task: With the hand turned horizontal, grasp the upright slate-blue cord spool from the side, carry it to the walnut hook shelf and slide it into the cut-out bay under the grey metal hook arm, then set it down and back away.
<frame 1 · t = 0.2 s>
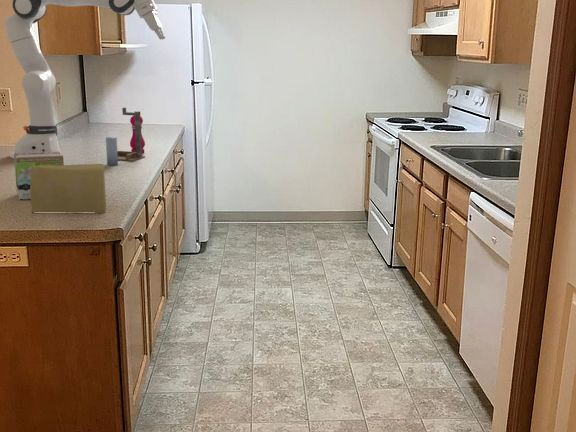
hand: (162, 39, 280), 54 cm above the countertop, tool tilted 30°, fingers open, 8 cm apart
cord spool: (112, 164, 270), on the countertop
tea box: (41, 196, 214), on the countertop
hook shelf: (122, 158, 285), on the countertop
pepper mill: (137, 153, 300), on the countertop
olive green box: (69, 212, 194), on the countertop
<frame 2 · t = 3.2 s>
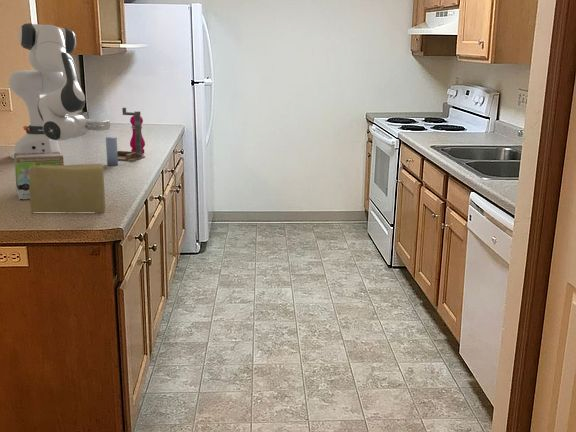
hand: (95, 122, 254), 20 cm above the countertop, tool horizontal, fingers open, 8 cm apart
nothing on the countertop moved.
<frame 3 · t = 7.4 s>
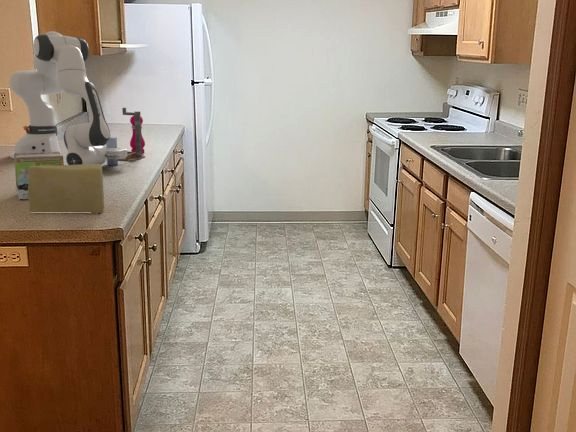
hand: (112, 149, 269), 7 cm above the countertop, tool horizontal, fingers closed on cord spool, 5 cm apart
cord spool: (112, 164, 270), on the countertop, touching gripper
everything else where it was.
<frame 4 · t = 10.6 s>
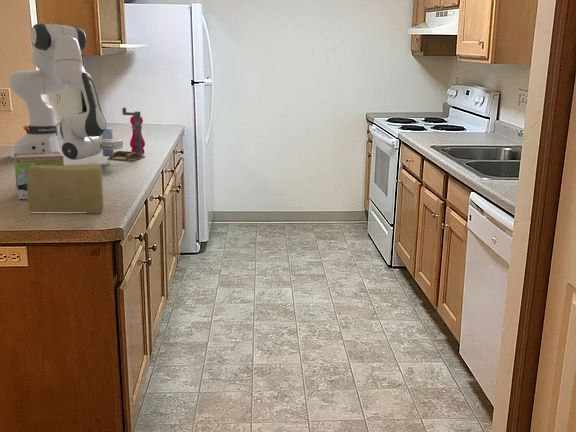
hand: (108, 140, 272), 10 cm above the countertop, tool horizontal, fingers closed on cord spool, 5 cm apart
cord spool: (108, 155, 273), point 3 cm above the countertop, touching gripper
everything else where it was.
when the fingers open (8 cm above the countertop, at t = 13.5 s): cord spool drops 1 cm, resting on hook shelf.
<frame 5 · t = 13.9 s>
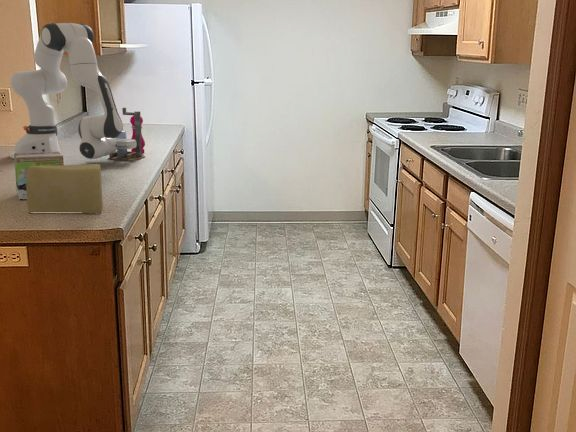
hand: (122, 140, 283), 8 cm above the countertop, tool horizontal, fingers open, 8 cm apart
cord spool: (122, 157, 284), point 1 cm above the countertop, touching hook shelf
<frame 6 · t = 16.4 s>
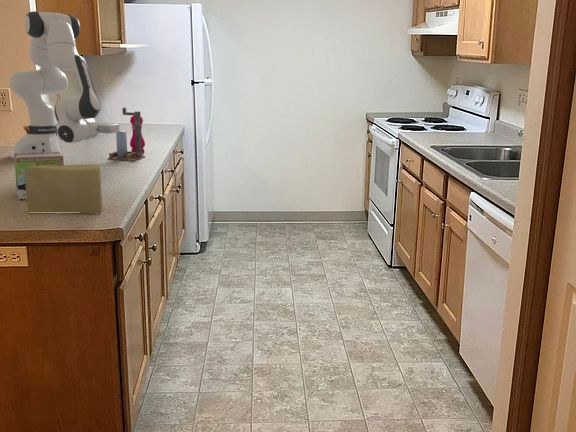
hand: (105, 124, 270), 17 cm above the countertop, tool horizontal, fingers open, 8 cm apart
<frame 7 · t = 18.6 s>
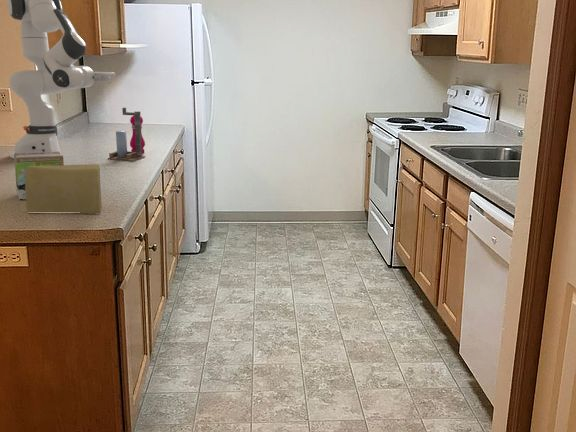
hand: (101, 75, 266), 38 cm above the countertop, tool horizontal, fingers open, 8 cm apart
at the end: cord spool 0.0 cm from the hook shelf (horizontally); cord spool tilted 0°; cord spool point 0.6 cm above the countertop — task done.
